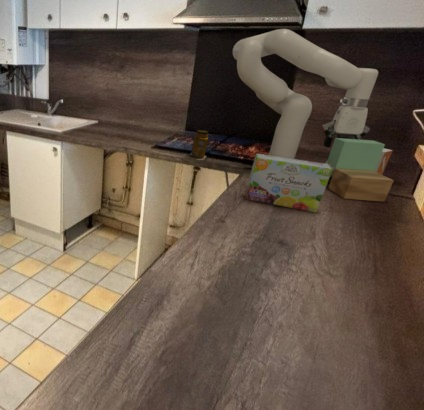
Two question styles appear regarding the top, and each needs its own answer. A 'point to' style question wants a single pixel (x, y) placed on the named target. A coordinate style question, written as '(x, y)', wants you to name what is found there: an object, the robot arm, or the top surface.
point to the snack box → (288, 182)
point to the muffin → (332, 169)
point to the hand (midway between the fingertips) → (338, 147)
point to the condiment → (199, 145)
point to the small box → (383, 161)
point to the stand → (360, 184)
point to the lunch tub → (355, 153)
